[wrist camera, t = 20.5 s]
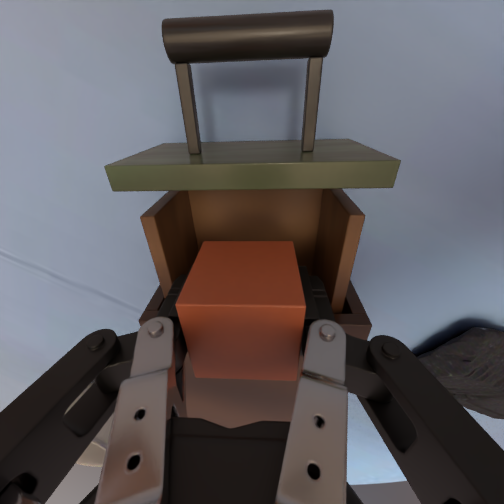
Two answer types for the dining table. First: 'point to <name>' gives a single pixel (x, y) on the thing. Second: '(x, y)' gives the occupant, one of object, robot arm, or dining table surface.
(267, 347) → the block
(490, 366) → the dark slate chunk
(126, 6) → the dining table surface
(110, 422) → the teacup
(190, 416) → the cabinet
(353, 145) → the drawer
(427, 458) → the robot arm
